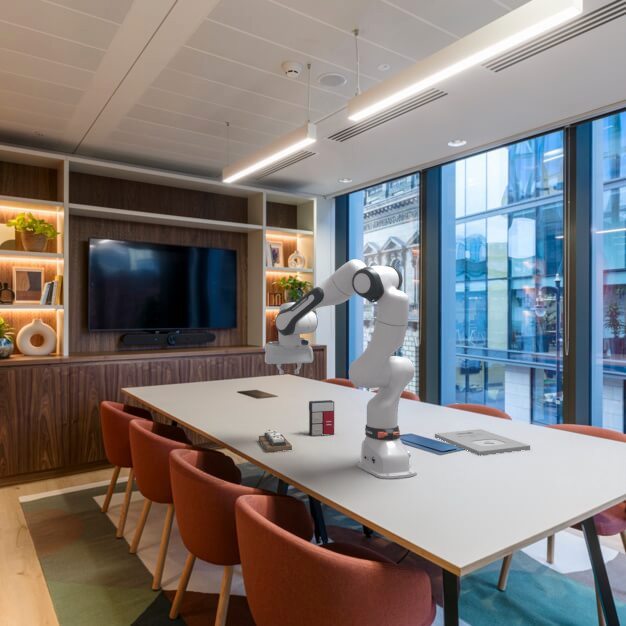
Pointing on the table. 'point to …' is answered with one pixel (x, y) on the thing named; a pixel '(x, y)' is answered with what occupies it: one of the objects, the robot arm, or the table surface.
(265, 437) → the key panel
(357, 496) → the table surface
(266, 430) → the key two
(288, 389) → the table surface
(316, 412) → the calculator
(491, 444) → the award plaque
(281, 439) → the key three
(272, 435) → the key one
